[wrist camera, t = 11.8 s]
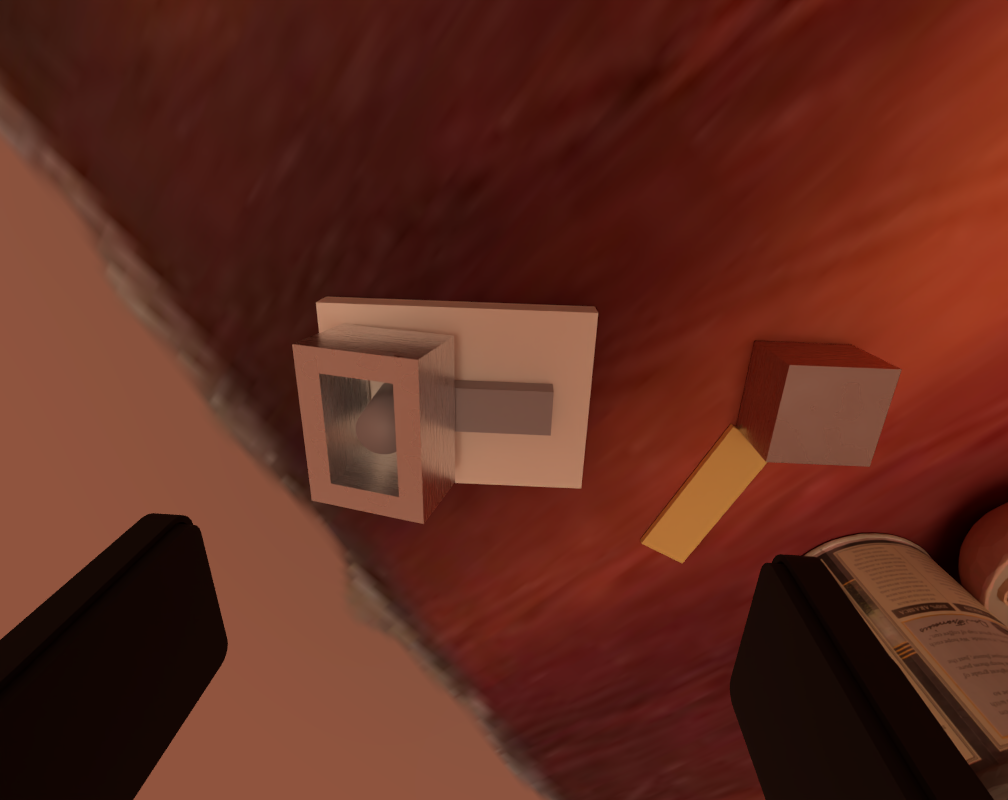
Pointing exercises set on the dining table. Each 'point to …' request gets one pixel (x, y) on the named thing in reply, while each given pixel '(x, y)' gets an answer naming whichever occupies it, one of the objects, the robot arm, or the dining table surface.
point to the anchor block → (815, 402)
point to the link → (344, 396)
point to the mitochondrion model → (987, 562)
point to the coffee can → (933, 642)
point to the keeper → (494, 384)
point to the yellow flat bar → (705, 496)
